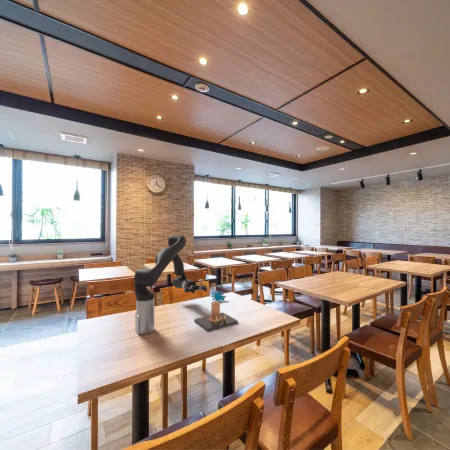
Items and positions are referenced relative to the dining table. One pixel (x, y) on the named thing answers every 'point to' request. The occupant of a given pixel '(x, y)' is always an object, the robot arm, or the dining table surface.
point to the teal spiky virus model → (218, 296)
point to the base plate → (212, 325)
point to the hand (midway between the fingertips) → (200, 290)
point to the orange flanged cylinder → (215, 312)
